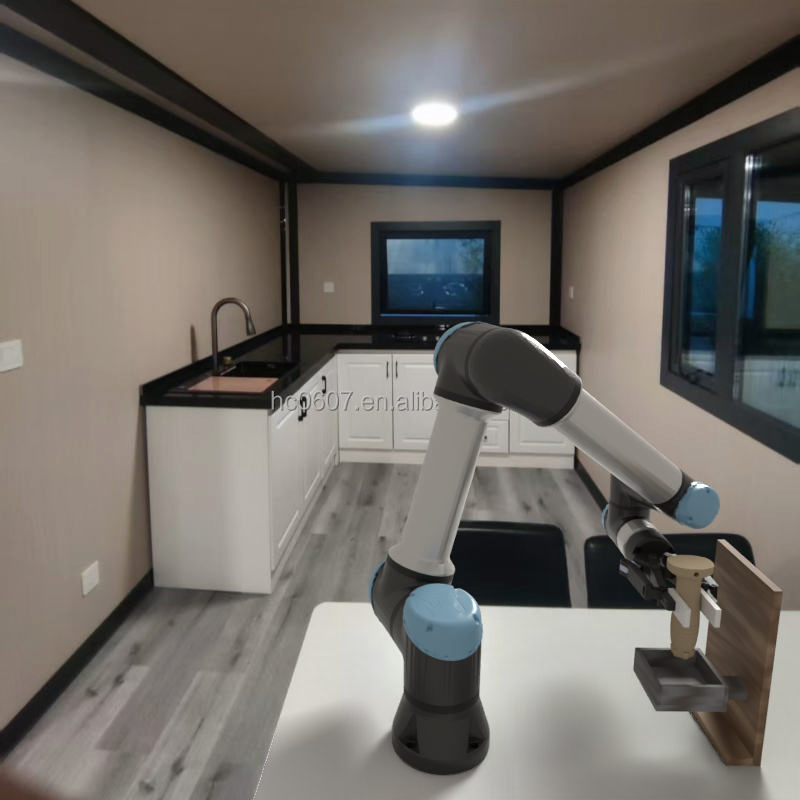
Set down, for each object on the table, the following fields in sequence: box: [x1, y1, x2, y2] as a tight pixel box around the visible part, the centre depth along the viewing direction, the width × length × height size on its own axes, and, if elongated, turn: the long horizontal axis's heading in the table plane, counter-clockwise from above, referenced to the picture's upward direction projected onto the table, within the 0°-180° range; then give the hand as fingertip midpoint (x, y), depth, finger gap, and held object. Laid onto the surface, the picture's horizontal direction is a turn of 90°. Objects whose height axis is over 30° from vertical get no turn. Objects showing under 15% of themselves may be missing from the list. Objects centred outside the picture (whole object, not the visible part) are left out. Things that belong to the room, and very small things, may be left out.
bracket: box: [632, 539, 784, 767], centre depth 108 cm, size 16×18×28 cm
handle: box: [667, 554, 715, 659], centre depth 103 cm, size 5×6×15 cm
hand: (702, 618), depth 97 cm, fingers closed on handle, 4 cm apart
